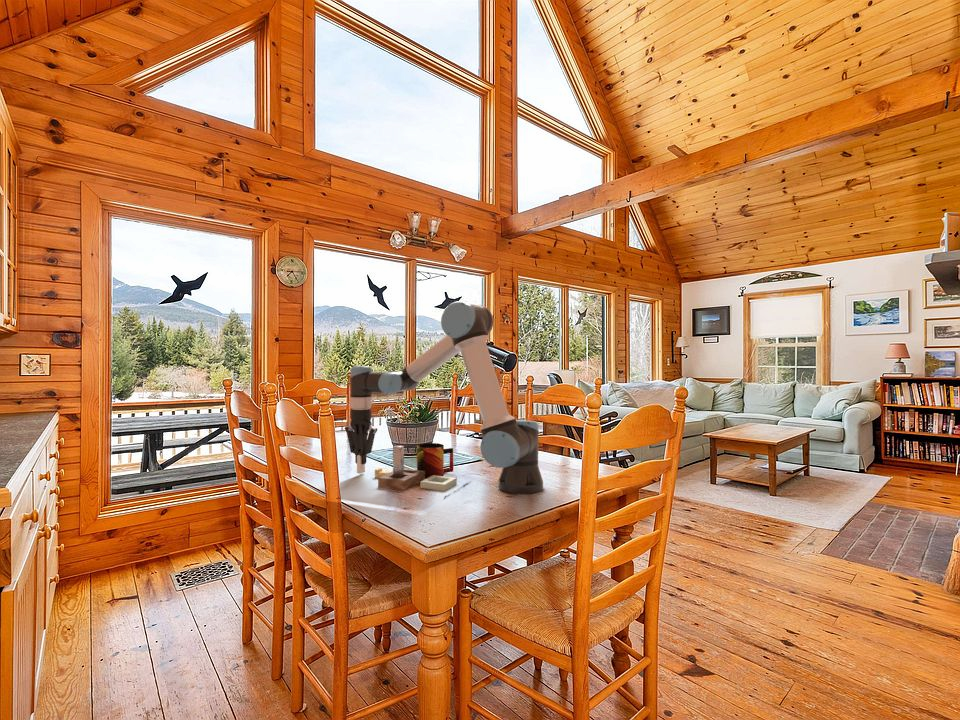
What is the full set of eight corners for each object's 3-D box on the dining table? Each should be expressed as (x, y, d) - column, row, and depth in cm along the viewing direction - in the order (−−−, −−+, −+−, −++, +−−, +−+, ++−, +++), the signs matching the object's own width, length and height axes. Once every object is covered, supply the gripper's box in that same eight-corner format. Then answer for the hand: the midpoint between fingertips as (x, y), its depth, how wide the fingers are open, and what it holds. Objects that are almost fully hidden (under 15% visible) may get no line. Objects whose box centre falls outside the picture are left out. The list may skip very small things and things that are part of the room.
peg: (405, 484, 165) (405, 445, 165) (400, 486, 162) (400, 447, 161) (396, 482, 166) (396, 445, 166) (390, 485, 163) (390, 447, 163)
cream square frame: (456, 486, 166) (456, 477, 166) (444, 493, 157) (444, 484, 157) (433, 483, 169) (433, 475, 169) (420, 490, 161) (420, 481, 161)
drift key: (403, 480, 173) (403, 470, 172) (398, 482, 170) (398, 472, 170) (379, 477, 176) (379, 468, 176) (374, 479, 174) (374, 469, 174)
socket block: (425, 482, 171) (425, 470, 171) (404, 493, 158) (404, 480, 158) (400, 479, 175) (400, 468, 175) (378, 489, 162) (378, 477, 162)
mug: (453, 474, 182) (454, 442, 182) (435, 483, 170) (435, 449, 170) (431, 471, 186) (431, 440, 186) (411, 480, 174) (411, 446, 174)
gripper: (381, 408, 178) (381, 472, 179) (352, 406, 183) (352, 468, 184) (369, 410, 171) (369, 477, 172) (339, 408, 176) (339, 473, 177)
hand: (360, 472), depth 178 cm, fingers closed
